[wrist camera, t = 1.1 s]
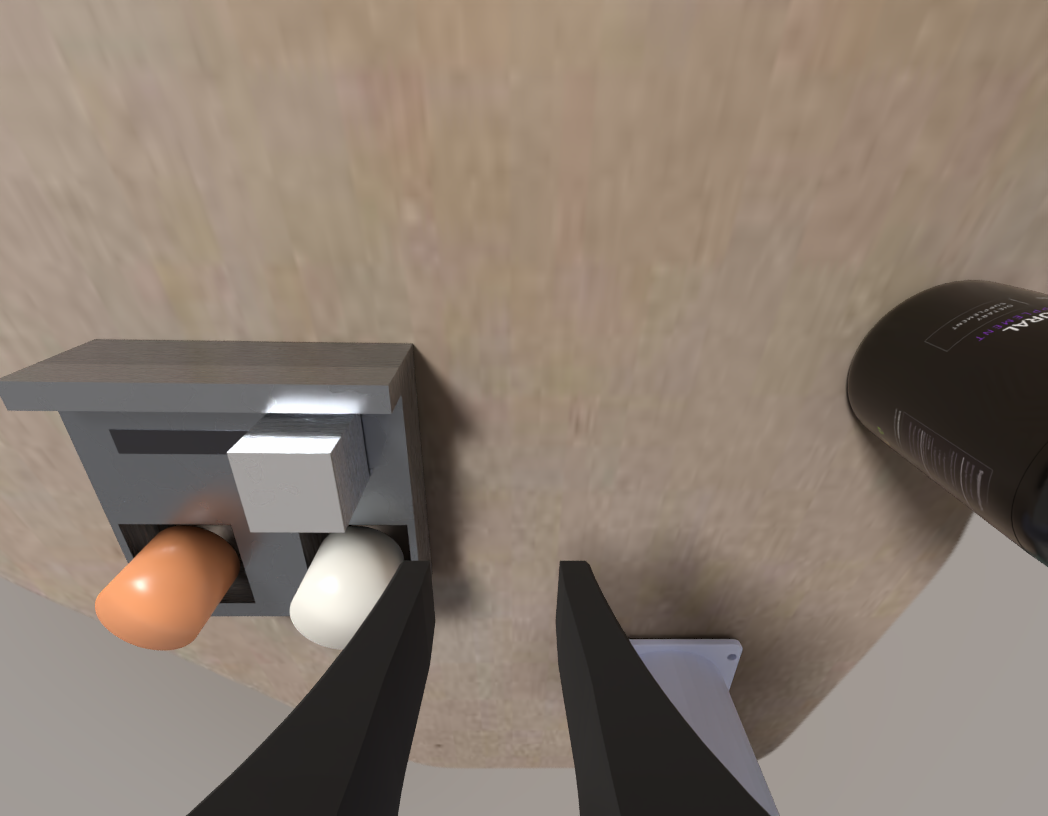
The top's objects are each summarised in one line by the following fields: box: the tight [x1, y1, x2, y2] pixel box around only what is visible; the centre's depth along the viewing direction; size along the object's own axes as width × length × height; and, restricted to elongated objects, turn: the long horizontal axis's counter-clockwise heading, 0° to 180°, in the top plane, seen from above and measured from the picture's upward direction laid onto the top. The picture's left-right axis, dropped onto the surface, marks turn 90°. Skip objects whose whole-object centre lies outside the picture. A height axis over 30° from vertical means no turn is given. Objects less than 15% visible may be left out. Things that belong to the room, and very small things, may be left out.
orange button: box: [95, 526, 240, 650], centre depth 19 cm, size 4×4×3 cm
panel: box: [0, 339, 432, 616], centre depth 19 cm, size 12×12×4 cm
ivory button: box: [290, 526, 404, 650], centre depth 19 cm, size 4×4×3 cm
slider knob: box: [227, 413, 369, 533], centre depth 16 cm, size 3×3×3 cm
